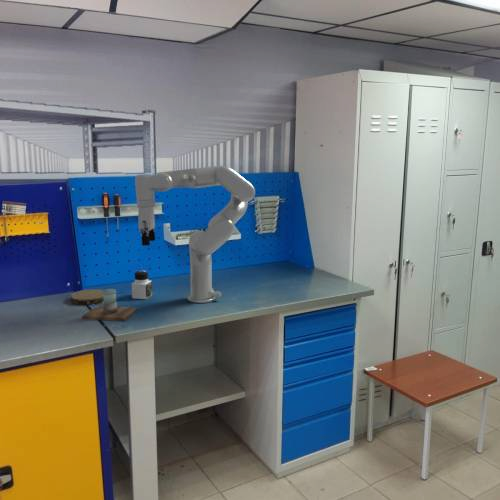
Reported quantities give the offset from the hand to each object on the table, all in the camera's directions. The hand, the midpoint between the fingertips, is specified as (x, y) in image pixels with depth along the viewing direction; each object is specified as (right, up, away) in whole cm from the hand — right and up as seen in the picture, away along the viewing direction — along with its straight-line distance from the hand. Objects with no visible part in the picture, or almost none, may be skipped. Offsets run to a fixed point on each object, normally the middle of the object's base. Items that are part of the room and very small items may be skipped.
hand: (148, 242), depth 223 cm
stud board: (-14, -30, -9) cm, 34 cm away
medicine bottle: (-6, -25, +16) cm, 30 cm away
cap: (-14, -25, -10) cm, 30 cm away
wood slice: (-29, -26, +11) cm, 41 cm away
